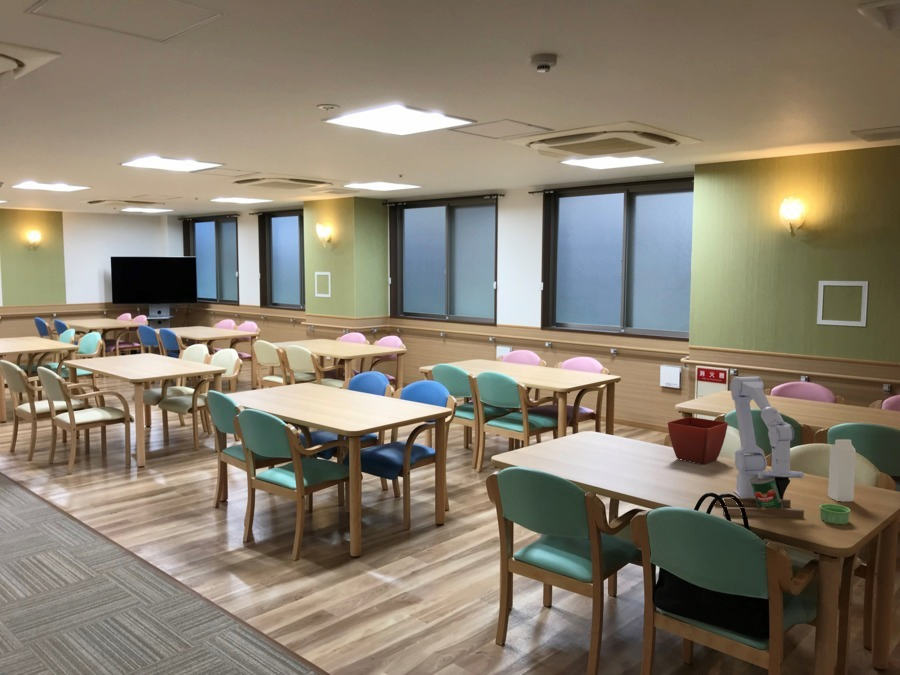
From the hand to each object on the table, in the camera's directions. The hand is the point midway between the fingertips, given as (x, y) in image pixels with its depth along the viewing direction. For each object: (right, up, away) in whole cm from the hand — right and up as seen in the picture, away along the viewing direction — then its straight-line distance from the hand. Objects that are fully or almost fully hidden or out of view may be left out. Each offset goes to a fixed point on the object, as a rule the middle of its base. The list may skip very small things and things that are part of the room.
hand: (780, 498), depth 247 cm
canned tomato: (-3, -4, +1) cm, 5 cm away
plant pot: (-5, +1, +70) cm, 70 cm away
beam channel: (-7, -5, +2) cm, 9 cm away
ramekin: (+14, -6, -8) cm, 17 cm away
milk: (+29, -4, +15) cm, 33 cm away
